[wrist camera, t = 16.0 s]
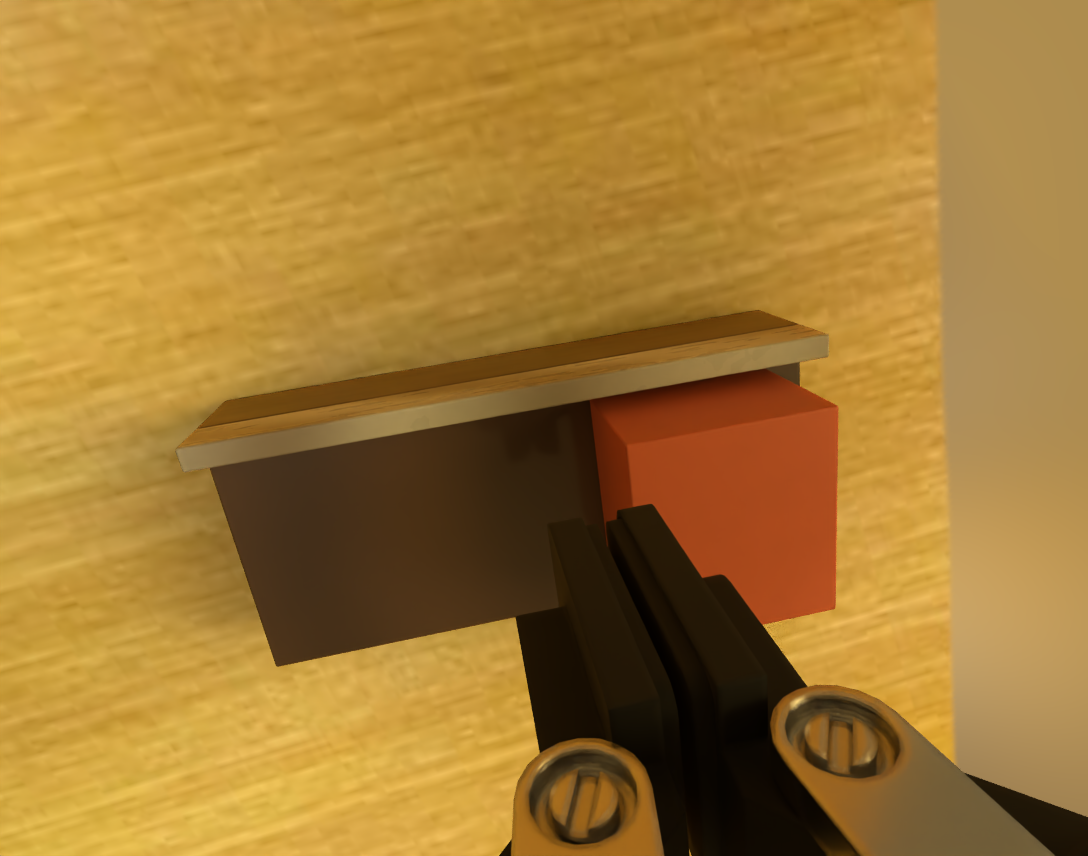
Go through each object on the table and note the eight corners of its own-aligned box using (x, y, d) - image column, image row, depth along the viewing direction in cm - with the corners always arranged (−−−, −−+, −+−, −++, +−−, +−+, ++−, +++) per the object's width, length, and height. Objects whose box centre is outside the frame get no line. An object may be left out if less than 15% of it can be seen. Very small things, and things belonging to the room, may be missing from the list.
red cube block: (609, 571, 16) (646, 651, 13) (589, 397, 15) (625, 445, 12) (768, 539, 16) (836, 609, 14) (763, 366, 15) (839, 405, 12)
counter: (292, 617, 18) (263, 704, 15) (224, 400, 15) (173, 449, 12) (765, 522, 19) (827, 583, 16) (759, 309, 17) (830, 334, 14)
